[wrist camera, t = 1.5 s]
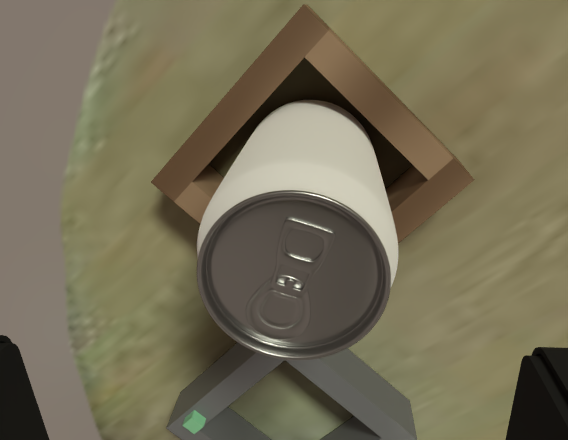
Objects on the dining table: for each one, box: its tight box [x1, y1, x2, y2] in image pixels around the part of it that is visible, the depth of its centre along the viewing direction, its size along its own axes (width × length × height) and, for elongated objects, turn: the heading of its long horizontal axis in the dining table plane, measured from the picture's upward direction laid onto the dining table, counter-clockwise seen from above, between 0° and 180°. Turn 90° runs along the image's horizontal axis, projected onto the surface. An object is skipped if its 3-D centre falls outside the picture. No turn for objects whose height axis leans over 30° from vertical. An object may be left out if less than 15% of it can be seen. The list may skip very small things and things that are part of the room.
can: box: [197, 100, 398, 360], centre depth 20 cm, size 6×6×12 cm
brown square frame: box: [151, 4, 474, 243], centre depth 24 cm, size 10×10×3 cm
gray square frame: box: [166, 343, 417, 440], centre depth 30 cm, size 10×10×4 cm
